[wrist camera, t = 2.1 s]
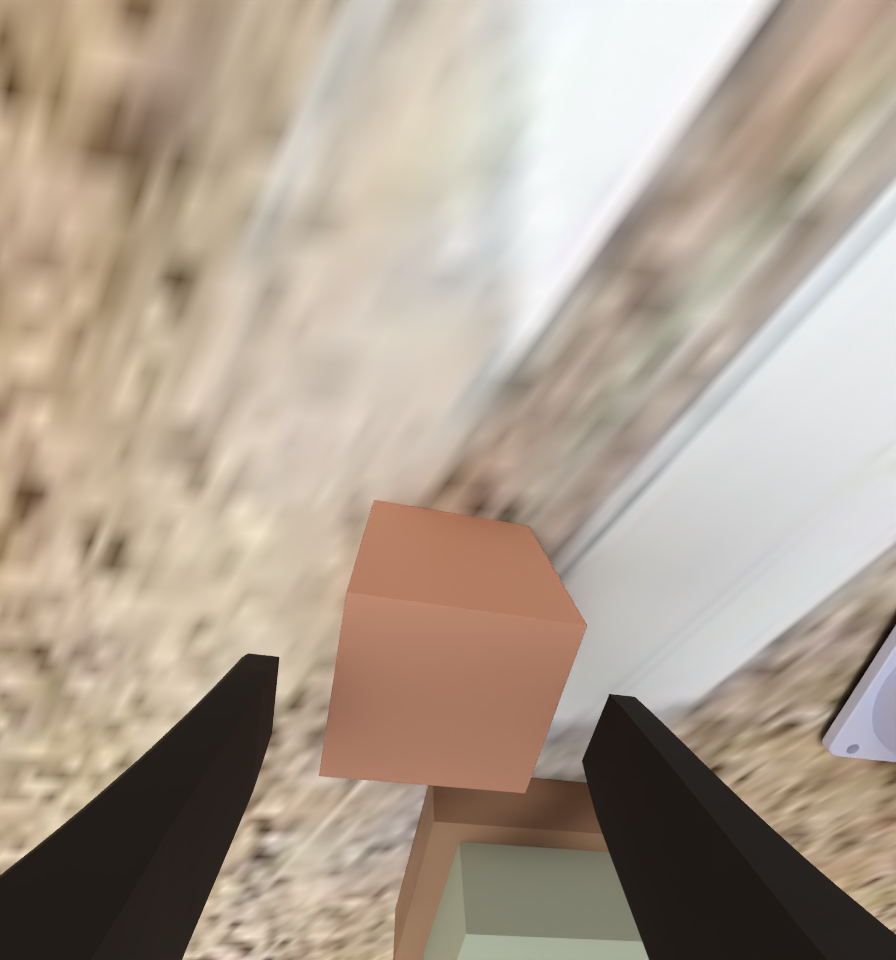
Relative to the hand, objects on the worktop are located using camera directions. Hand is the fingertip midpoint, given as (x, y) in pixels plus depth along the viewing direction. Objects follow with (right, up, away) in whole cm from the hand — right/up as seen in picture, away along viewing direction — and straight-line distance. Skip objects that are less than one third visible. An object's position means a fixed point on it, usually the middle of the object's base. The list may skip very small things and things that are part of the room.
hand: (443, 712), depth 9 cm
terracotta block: (0, +2, +5) cm, 5 cm away
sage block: (+3, -12, +8) cm, 15 cm away
